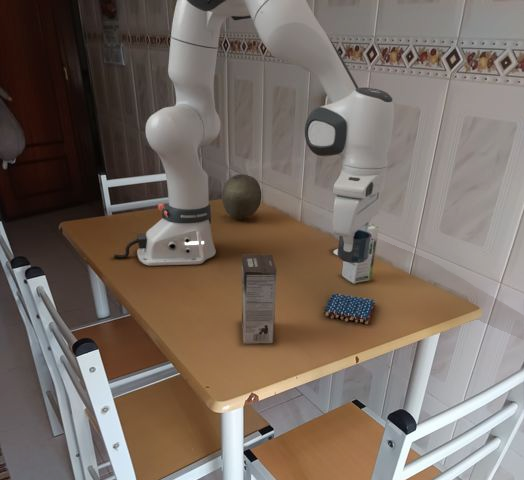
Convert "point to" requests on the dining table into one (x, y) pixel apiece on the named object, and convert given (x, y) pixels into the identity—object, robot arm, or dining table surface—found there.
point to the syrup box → (363, 269)
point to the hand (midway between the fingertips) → (354, 245)
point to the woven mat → (350, 308)
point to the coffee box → (258, 298)
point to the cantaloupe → (241, 196)
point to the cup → (356, 248)
